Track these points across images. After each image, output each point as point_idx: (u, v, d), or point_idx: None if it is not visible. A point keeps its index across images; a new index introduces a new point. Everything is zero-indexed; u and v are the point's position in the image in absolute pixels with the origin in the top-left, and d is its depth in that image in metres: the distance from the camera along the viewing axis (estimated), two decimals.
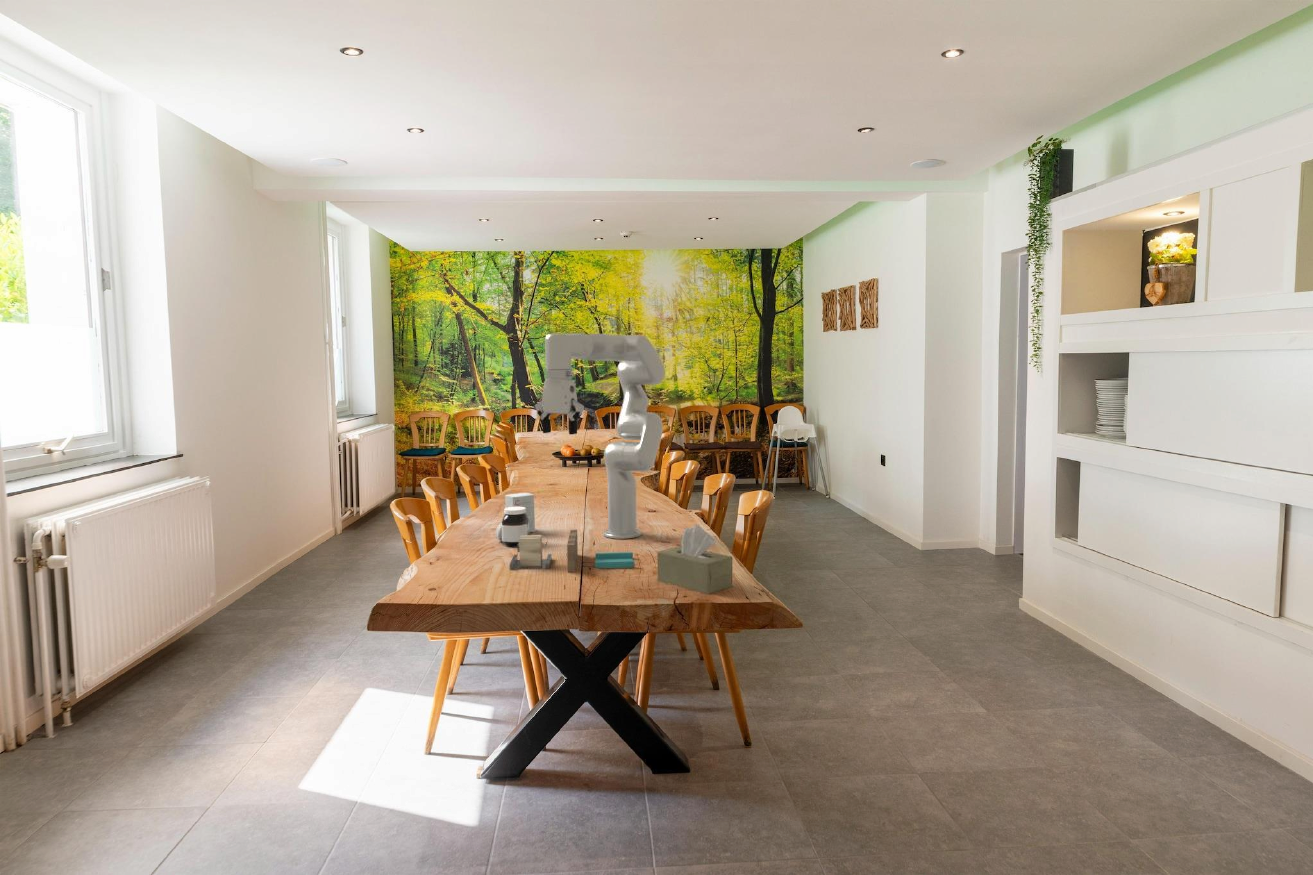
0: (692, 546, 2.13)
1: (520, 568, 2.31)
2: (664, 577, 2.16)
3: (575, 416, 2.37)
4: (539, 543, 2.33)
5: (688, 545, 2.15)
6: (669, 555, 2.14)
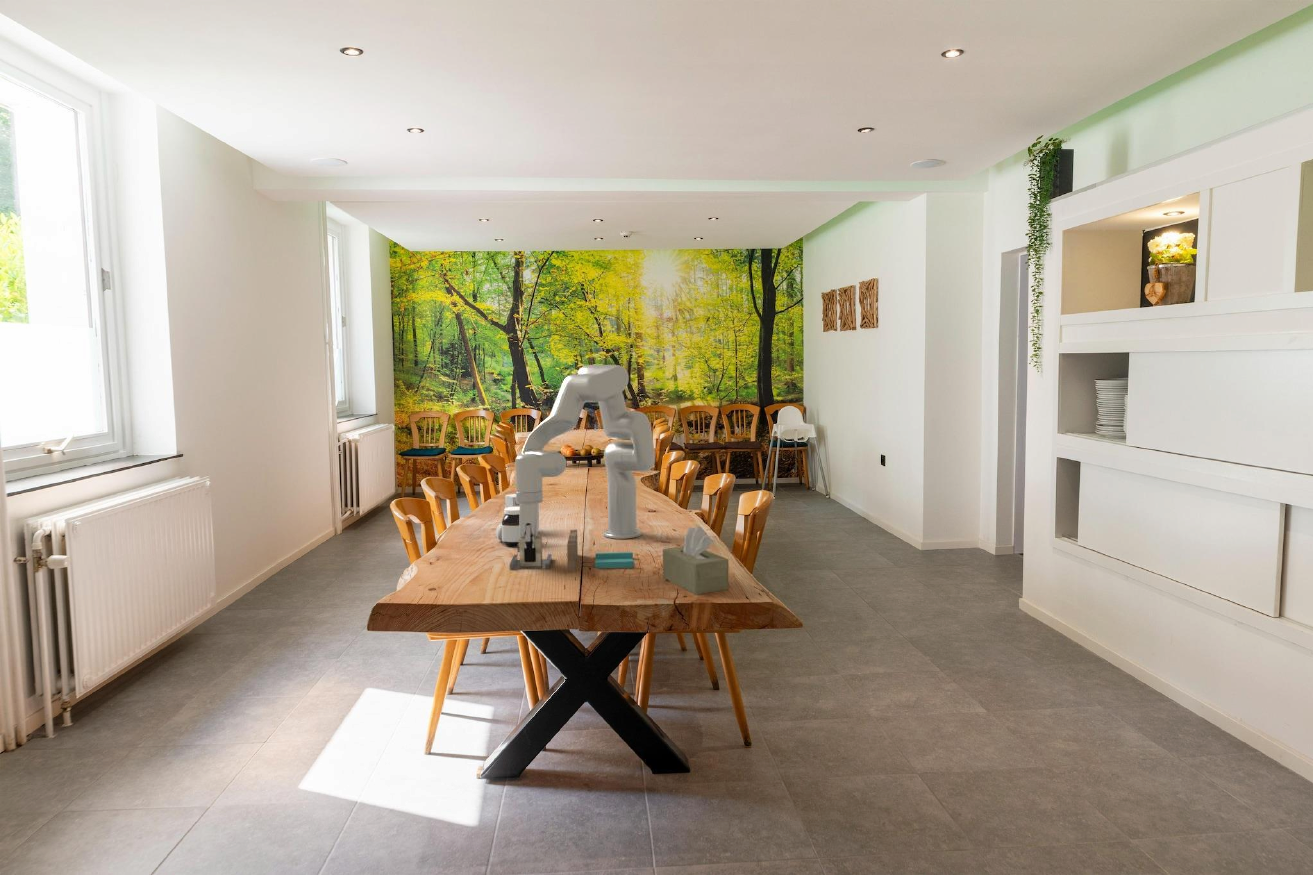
0: (691, 546, 2.14)
1: (520, 568, 2.31)
2: (667, 574, 2.18)
3: None
4: (539, 543, 2.33)
5: (690, 545, 2.16)
6: (670, 553, 2.16)
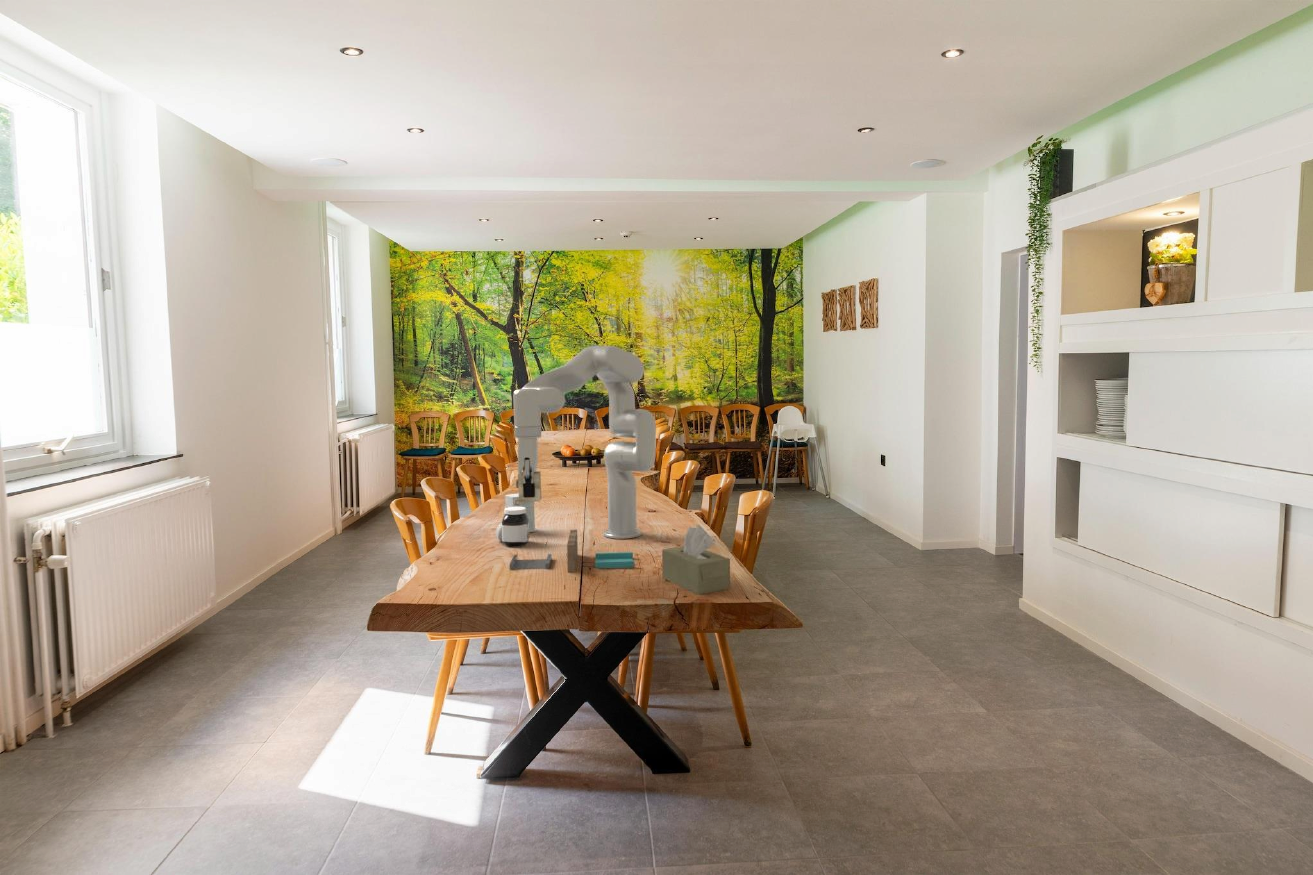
0: (692, 546, 2.14)
1: (520, 568, 2.31)
2: (667, 574, 2.18)
3: None
4: (538, 478, 2.31)
5: (690, 545, 2.16)
6: (670, 553, 2.16)
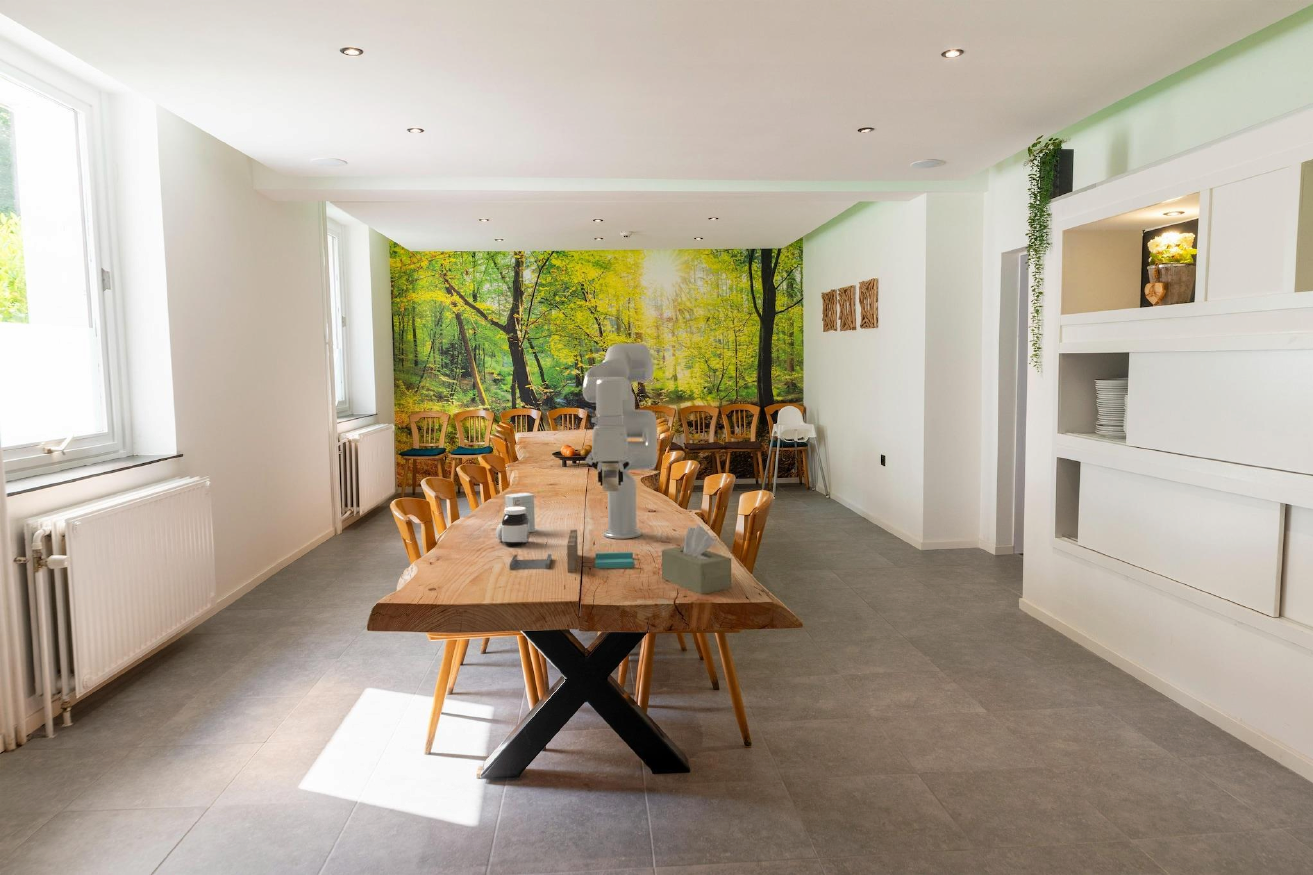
0: (692, 546, 2.14)
1: (520, 568, 2.31)
2: (667, 575, 2.18)
3: None
4: None
5: (690, 544, 2.16)
6: (671, 554, 2.16)
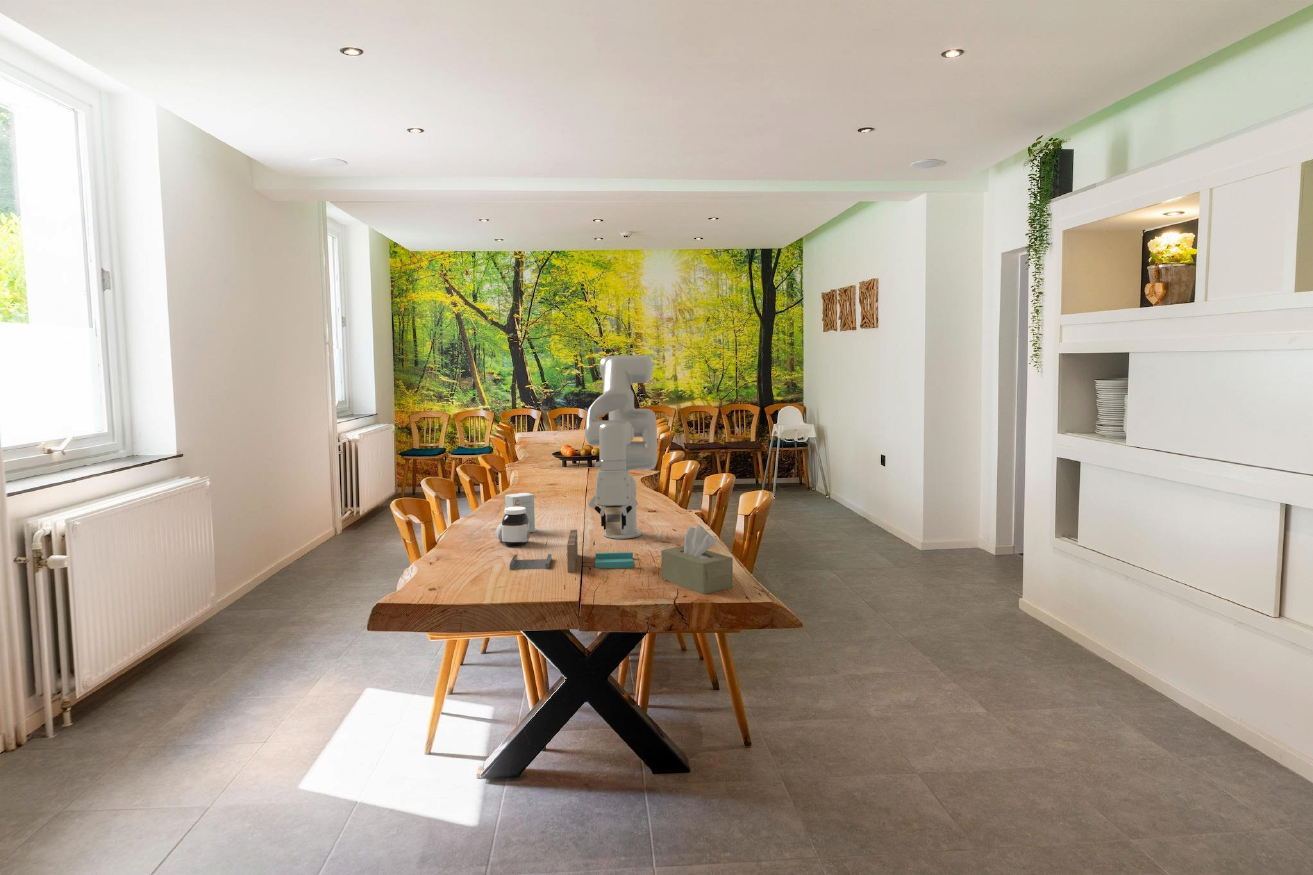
0: (693, 546, 2.14)
1: (520, 568, 2.31)
2: (667, 575, 2.17)
3: None
4: None
5: (691, 544, 2.16)
6: (671, 554, 2.15)
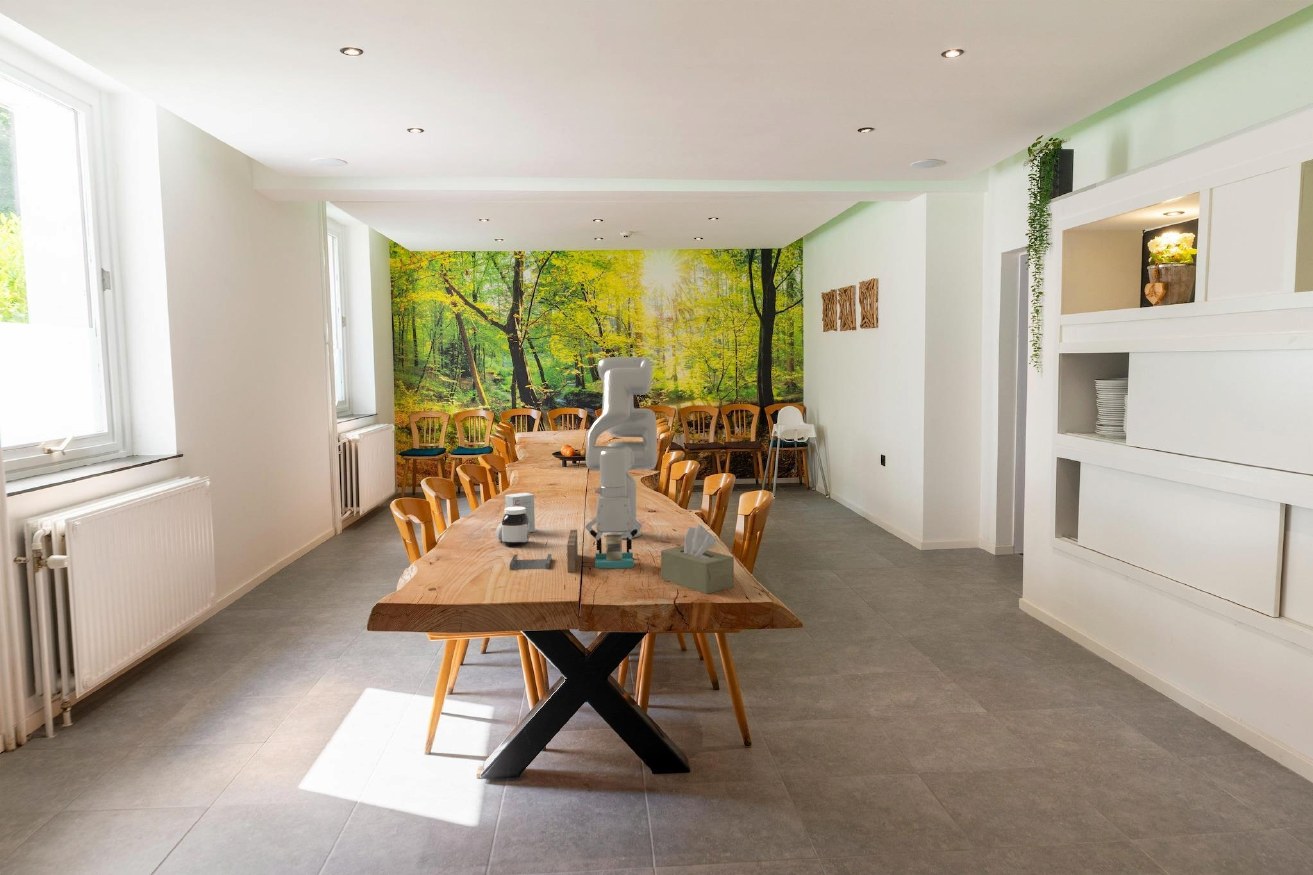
0: (694, 546, 2.14)
1: (520, 568, 2.31)
2: (667, 575, 2.17)
3: None
4: None
5: (691, 544, 2.16)
6: (671, 554, 2.15)
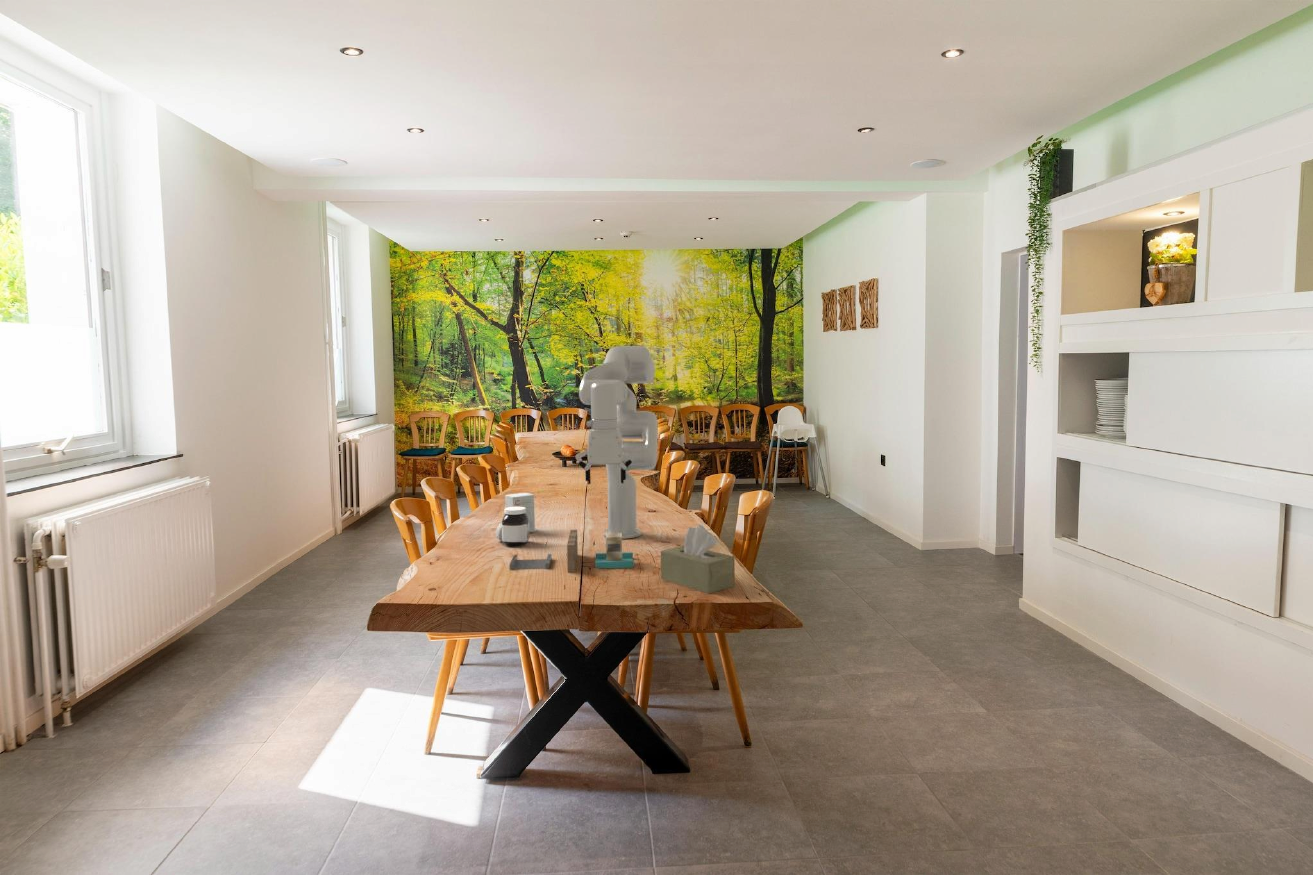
0: (694, 546, 2.14)
1: (520, 568, 2.31)
2: (667, 576, 2.17)
3: None
4: None
5: (691, 544, 2.16)
6: (672, 554, 2.15)
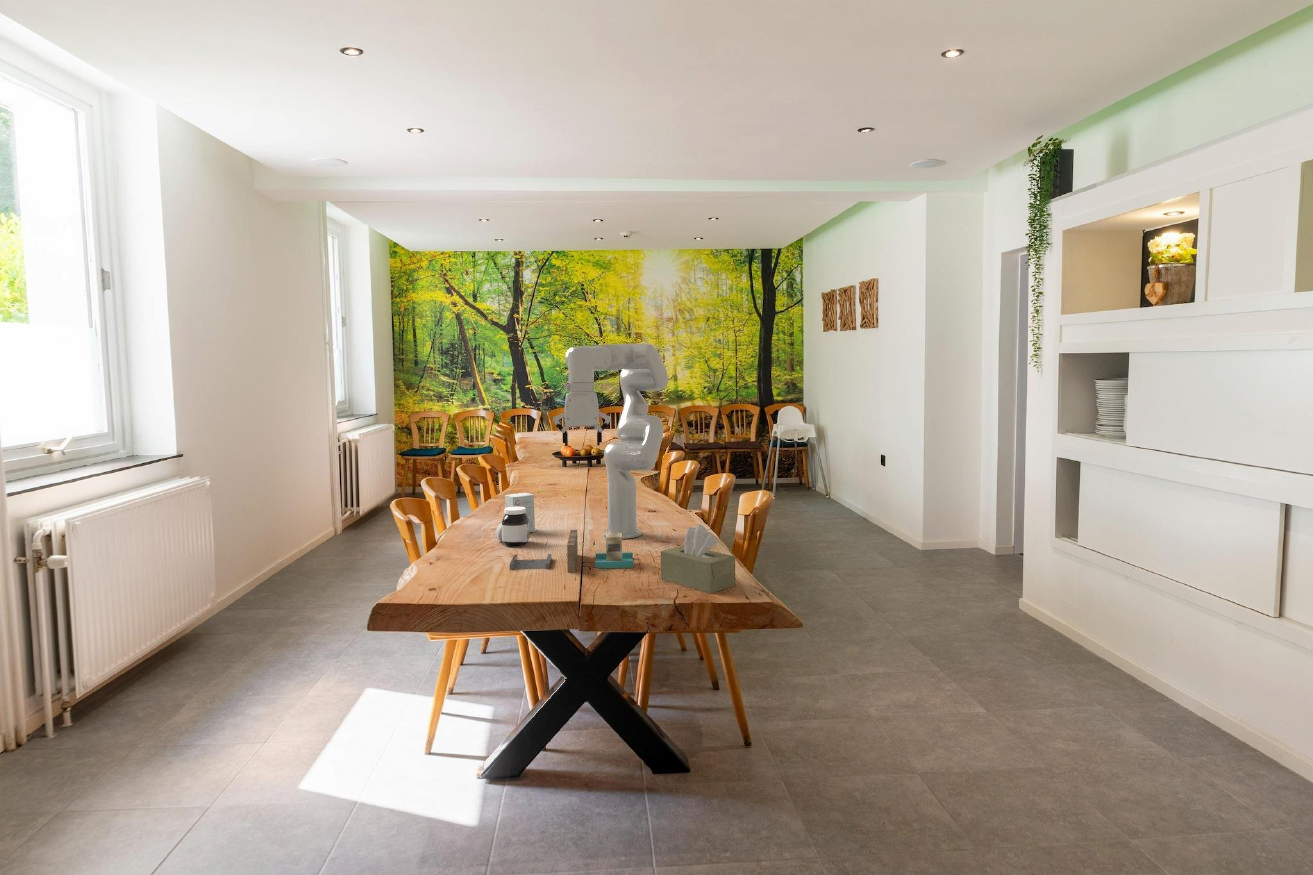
0: (695, 546, 2.14)
1: (520, 568, 2.31)
2: (667, 576, 2.17)
3: None
4: None
5: (691, 544, 2.16)
6: (672, 554, 2.15)
